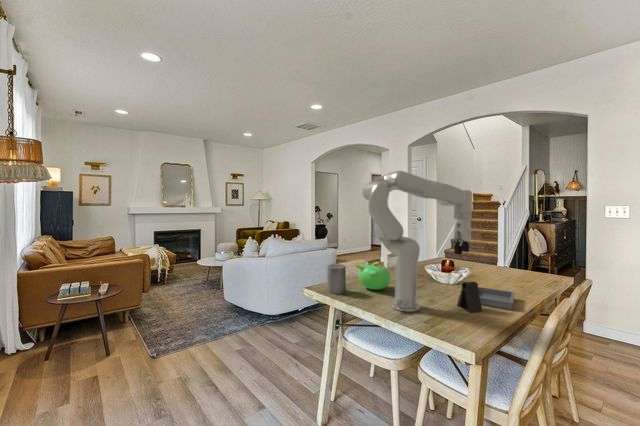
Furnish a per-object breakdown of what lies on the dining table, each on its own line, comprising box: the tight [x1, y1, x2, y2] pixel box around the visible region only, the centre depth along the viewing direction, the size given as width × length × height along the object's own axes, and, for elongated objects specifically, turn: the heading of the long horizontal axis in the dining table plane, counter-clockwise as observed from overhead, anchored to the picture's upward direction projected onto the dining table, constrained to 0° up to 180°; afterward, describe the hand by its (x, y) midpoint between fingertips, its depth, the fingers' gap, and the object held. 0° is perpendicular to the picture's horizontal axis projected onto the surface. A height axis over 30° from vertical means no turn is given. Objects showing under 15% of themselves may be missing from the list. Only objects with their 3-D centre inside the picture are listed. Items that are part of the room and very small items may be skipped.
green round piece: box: [353, 261, 392, 291], centre depth 165 cm, size 18×17×15 cm
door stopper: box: [456, 281, 484, 313], centre depth 136 cm, size 9×6×12 cm, turn 14°
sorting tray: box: [478, 286, 515, 312], centre depth 147 cm, size 20×18×4 cm
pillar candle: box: [326, 263, 347, 295], centre depth 160 cm, size 10×10×15 cm
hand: (461, 252), depth 143 cm, fingers open, 9 cm apart
